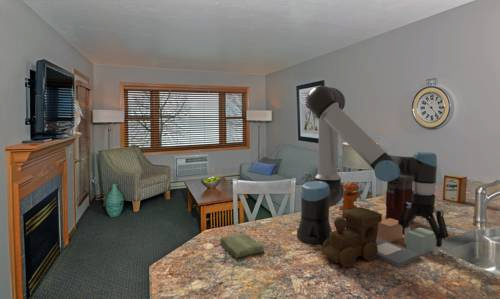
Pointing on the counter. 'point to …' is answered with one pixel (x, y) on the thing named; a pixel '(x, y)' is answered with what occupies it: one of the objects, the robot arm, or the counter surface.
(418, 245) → the sage brick
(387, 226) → the terracotta brick
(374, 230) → the wooden toy train
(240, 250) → the washcloth
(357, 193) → the orange lumpy rounded piece
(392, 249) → the base plate
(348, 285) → the counter surface
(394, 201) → the toy vending machine
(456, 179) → the baking soda box
